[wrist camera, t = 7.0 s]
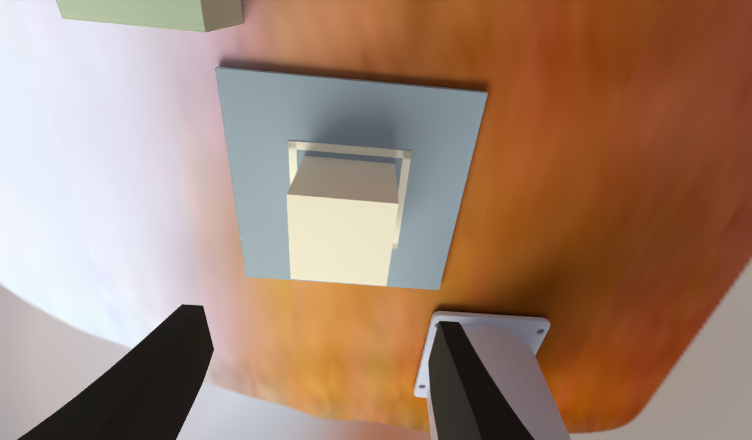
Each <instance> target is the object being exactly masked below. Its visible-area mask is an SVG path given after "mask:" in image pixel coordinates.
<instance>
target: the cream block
mask: <svg viewBox="0 0 752 440" xmlns="http://www.w3.org/2000/svg"><path fill="white" fill-rule="evenodd" d="M398 206H399V201H398V191H397V181H396V171H395V164H392V163H381V162H370V161H359V160H348V159H337V158H326V157H315V156H304V157H303V159H302V162H301V164H300V166H299V168H298V170H297V173H296V175H295V177H294V179H293V181H292V184H291V186H290V188H289V190H288V192H287V214H288V235H289V256H290V278H291V279H297V280H311V281H324V282H338V283H351V284H365V285H379V286H387V279H388V273H389V266H390V259H391V253H392V246H393V239H394V232H395V226H396V219H397V212H398Z"/></svg>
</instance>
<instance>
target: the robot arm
mask: <svg viewBox="0 0 752 440" xmlns="http://www.w3.org/2000/svg"><path fill="white" fill-rule="evenodd" d="M549 328H550V322H549V321H548V319H546V318H540V317H525V316H510V315H494V314H479V313H464V312H449V311H437V312H435V313H433V315H432V317H431V321H430V325H429V329H428V333H427V337H426V341H425V345H424V349H423V353H422V358H421V362H420V366H419V370H418V374H417V378H416V382H415V386H414V395H415V396H416V397H423V398H427V406H428V415H429V423H430V431H431V440H571V438H570V436H569V433H568V431H567V429H566V427H565V424H564V422H563V420H562V417H561V415H560V413H559V410H558V408H557V406H556V403H555V401H554V399H553V396H552V394H551V392H550V389H549V387H548V385H547V383H546V380H545V378H544V376H543V373H542V371H541V369H540V366H539V364H538V362H537V359H536V357H535V355H536V353H537V351H538V349H539V347H540V345H541V343H542V341H543V340H544V338H545V336H546V334H547V332H548V330H549ZM213 351H214V348H213V344H212V340H211V336H210V332H209V328H208V324H207V320H206V316H205V312H204V308H203V306H199V305H184V304H182V305H181V306H180V307H179V308H178V309H177V310H175V311H174V312H173V313H172V314H171V315H170V316H169V317H168V318H167V319H165V320H164V321H163V322H162V323H161V324H160V325H159V326H158V327H157V328H156V329H154V330H153V331H152V332H151V333H150V334H149V335H148V336H147V337H146V338H144V339H143V340H142V341H141V342H140V343H139V344H138V345H137V346H136V347H134V348H133V349H132V350H131V351H130V352H129V353H128V354H126V355H125V356H124V357H123V358H122V359H121V360H119V361H118V362H117V363H116V364H115V365H114V366H113V367H111V368H110V369H109V370H108V371H107V372H105V373H104V374H103V375H102V376H100V377H99V378H98V379H97V380H96V381H94V382H93V383H92V384H91V385H89V386H88V387H87V388H86V389H85V390H84V391H82V392H81V393H80V394H79V395H77V396H76V397H75V398H73V399H72V400H71V401H69V402H68V403H67V404H65V405H64V406H63V407H62V408H61V409H59V410H58V411H56V412H55V413H54V414H52V415H51V416H50V417H48V418H47V419H45V420H44V421H43V422H41V423H40V424H39V425H37V426H36V427H34V428H33V429H32V430H30V431H29V432H28V433H26V434H25V435H23V436H22V437H20V438H19V439H17V440H176V438H177V436H178V434H179V432H180V430H181V428H182V426H183V423H184V422H185V420H186V417H187V415H188V413H189V411H190V409H191V407H192V405H193V403H194V400H195V398H196V396H197V394H198V392H199V390H200V388H201V385H202V383H203V380H204V378H205V375H206V372H207V369H208V366H209V363H210V360H211V357H212V354H213Z"/></svg>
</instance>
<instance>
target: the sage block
mask: <svg viewBox="0 0 752 440" xmlns="http://www.w3.org/2000/svg"><path fill="white" fill-rule="evenodd" d="M56 1H57V4H58V7H59V10H60V13H61V16H62V19H73V20H83V21H93V22H104V23H114V24H124V25H134V26H145V27H155V28H165V29H176V30H186V31H196V32H209V31H213V30H218V29H222V28H226V27H231V26H235V25H240V24H244V23H243V13H242V3H241V0H56Z"/></svg>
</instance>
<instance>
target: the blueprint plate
mask: <svg viewBox="0 0 752 440" xmlns="http://www.w3.org/2000/svg"><path fill="white" fill-rule="evenodd" d="M215 70H216V77H217V84H218V91H219V97H220V104H221V111H222V118H223V125H224V132H225V138H226V145H227V152H228V159H229V166H230V172H231V179H232V186H233V193H234V200H235V207H236V213H237V220H238V227H239V234H240V241H241V247H242V254H243V261H244V268H245V275H246V277H256V278H271V279H285V280H297V279H291V278H290V256H289V235H288V214H287V192H288V190H289V188H290V186H291V184H292V181H293V179H294V177H295V175H296V173H297V170H298V168H299V166H300V164H301V162H302V159H303V157H304V156H315V157H326V158H337V159H348V160H359V161H370V162H381V163H392V164H395V171H396V181H397V191H398V201H399V206H398V212H397V219H396V226H395V232H394V239H393V246H392V253H391V259H390V266H389V273H388V279H387V286H388V287H403V288H417V289H432V290H439V288H440V284H441V280H442V276H443V272H444V268H445V264H446V260H447V256H448V252H449V248H450V244H451V240H452V236H453V232H454V228H455V224H456V220H457V215H458V211H459V207H460V203H461V199H462V195H463V191H464V187H465V183H466V179H467V175H468V171H469V167H470V163H471V159H472V155H473V151H474V147H475V143H476V139H477V135H478V131H479V127H480V123H481V119H482V115H483V111H484V107H485V103H486V99H487V95H488V93H487V92H486V91H479V90H468V89H457V88H447V87H436V86H425V85H414V84H404V83H393V82H382V81H371V80H361V79H350V78H339V77H328V76H318V75H307V74H296V73H285V72H275V71H264V70H253V69H242V68H232V67H221V66H218V67H216V68H215ZM300 281H311V280H300ZM315 282H324V281H315ZM329 283H338V282H329ZM344 284H351V283H344ZM359 285H365V284H359ZM373 286H379V285H373Z"/></svg>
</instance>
